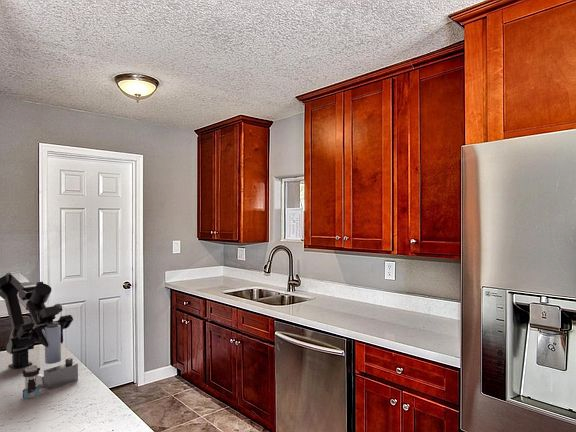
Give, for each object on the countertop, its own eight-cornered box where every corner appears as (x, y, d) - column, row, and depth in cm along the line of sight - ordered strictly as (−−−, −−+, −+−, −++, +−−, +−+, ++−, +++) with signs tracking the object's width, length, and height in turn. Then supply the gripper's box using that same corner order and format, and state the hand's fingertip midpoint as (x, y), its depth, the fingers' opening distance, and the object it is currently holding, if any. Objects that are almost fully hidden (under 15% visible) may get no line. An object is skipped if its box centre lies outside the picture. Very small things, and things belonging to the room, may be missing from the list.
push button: (42, 390, 149) (42, 362, 149) (46, 395, 145) (46, 366, 145) (20, 396, 144) (20, 367, 144) (24, 401, 140) (23, 371, 140)
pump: (42, 362, 157) (41, 324, 157) (56, 358, 161) (55, 321, 161) (49, 364, 154) (49, 325, 154) (63, 360, 159) (63, 322, 159)
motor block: (36, 384, 154) (36, 362, 154) (64, 375, 163) (64, 354, 163) (50, 389, 150) (49, 366, 150) (77, 379, 158) (77, 358, 158)
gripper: (20, 302, 152) (36, 337, 146) (70, 294, 168) (87, 325, 162) (9, 321, 156) (25, 356, 150) (59, 311, 172) (75, 342, 166)
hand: (54, 344), depth 157 cm, fingers closed on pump, 5 cm apart
